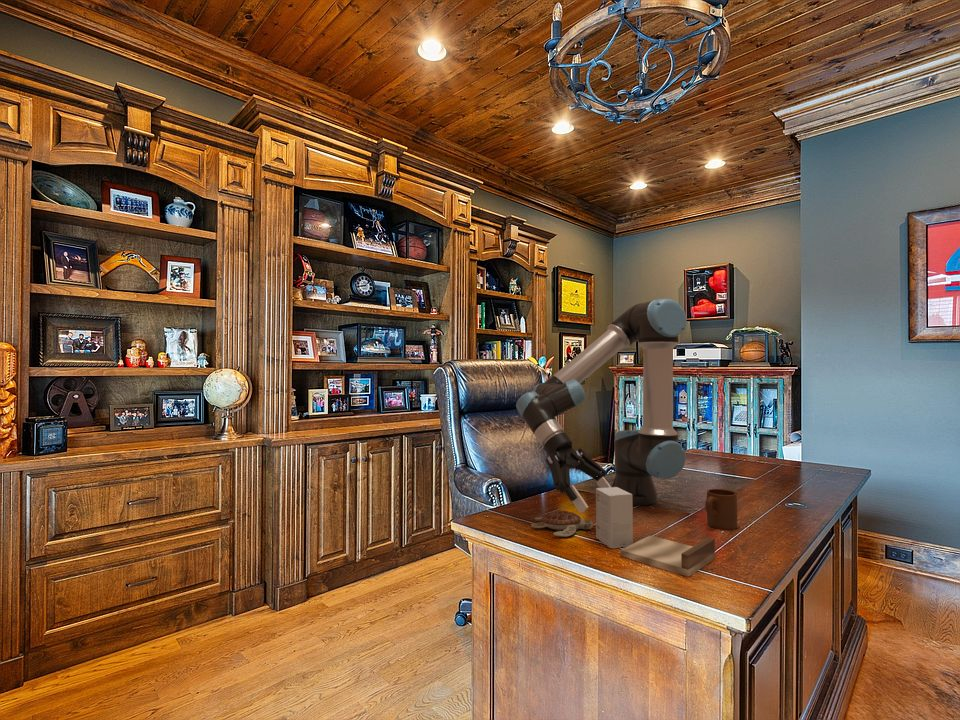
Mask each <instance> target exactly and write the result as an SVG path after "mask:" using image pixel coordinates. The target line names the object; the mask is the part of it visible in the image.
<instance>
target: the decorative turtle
mask: <svg viewBox="0 0 960 720" xmlns="http://www.w3.org/2000/svg"><path fill="white" fill-rule="evenodd" d="M534 519H535V520H534V521H540V522H534V523H531V527H532V528H536V529H542V528H546V527H547V528H549V529H551V530H556V531H555V532H553V533H552V534H553V536H555V537H565V538H566V537H569V536H570V537H571V536H572V535H574V534H575V533H576V531H577V530H592V528H594V523H593V521H592V520H590V519H588V518H587V519H586V518H582V517H581V516H580V515H578V514H576V513H574V512H573V511H572V512H571V511H567V510H557V511H553V512H550V513H548V514H546V515H544V516H537V517H535V518H534ZM561 530H563V531H561Z"/></svg>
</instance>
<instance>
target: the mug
mask: <svg viewBox="0 0 960 720" xmlns="http://www.w3.org/2000/svg"><path fill="white" fill-rule="evenodd" d="M704 505H705V506H704V507H705V512H706V521H707V522H706V523H707V525H708V526H710V527H711V528H713V529H717V530H722V531H723V530H724V531H731V530H735V529H736V528H737V527H738V497H737V493H736V491H733V490H729V489H724V488H723V489H721V488H711V489H707V491H706V500H705V503H704Z"/></svg>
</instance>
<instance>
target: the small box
mask: <svg viewBox="0 0 960 720" xmlns="http://www.w3.org/2000/svg"><path fill="white" fill-rule="evenodd" d="M633 506H634V505H633V501H632V494H630V493H628V492H626V491H624V490H622V489H620V488H618V487H612V486H611V487H608V488H599V487H596V488H595V516H596V517H595V538H596V539H597V540H598V539H599V541H600V542H601V543H602V542H603V543H602V544H603V545H605V546H606V545H607V548H609V549H610V548H613V549H622V548H621V547H623V548H626V547H628V546H630V545H632V544H634V512H633V511H634V510H633V509H634V507H633Z"/></svg>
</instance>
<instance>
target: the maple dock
mask: <svg viewBox="0 0 960 720" xmlns="http://www.w3.org/2000/svg"><path fill="white" fill-rule="evenodd" d="M715 541H716V539H715V538H711V537H707V538H705V539H703V540H701V541H700V542H698V543H697V544H695V545H693V546H692V545H688V544H684V543H680V542H676V541H673V540H669V539H664V538H662V537H657V536H653V535H648V536H646V537H644V538H642V539H640V540H638V541H636V542H633V544H632V545H630V546H628V547H623V548H621V549H620V557H621V556H623V557H622V558H625V557H627V558H626V559H628V558H629V559H628V560H631V559H632V561H635V560H636V561H635V562H638V561H639V563H641V562H642V563H641V564H644V563H645V564H644V565H648V564H649V565H648V566H651V567H654V566H655V567H654V568H657V569H660V570H661V569H662V570H664V571H667V572H671V573H674V574H676V575H677V574H678V575H682V576H684V577H687V578H688V577H690V576H692V575H694V574H695V573H697V572H698V571H700V569H701V570H702V568H704V567H706V566H707V565H709V563H711V562H713V560H716V542H715ZM693 573H694V574H693Z"/></svg>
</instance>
